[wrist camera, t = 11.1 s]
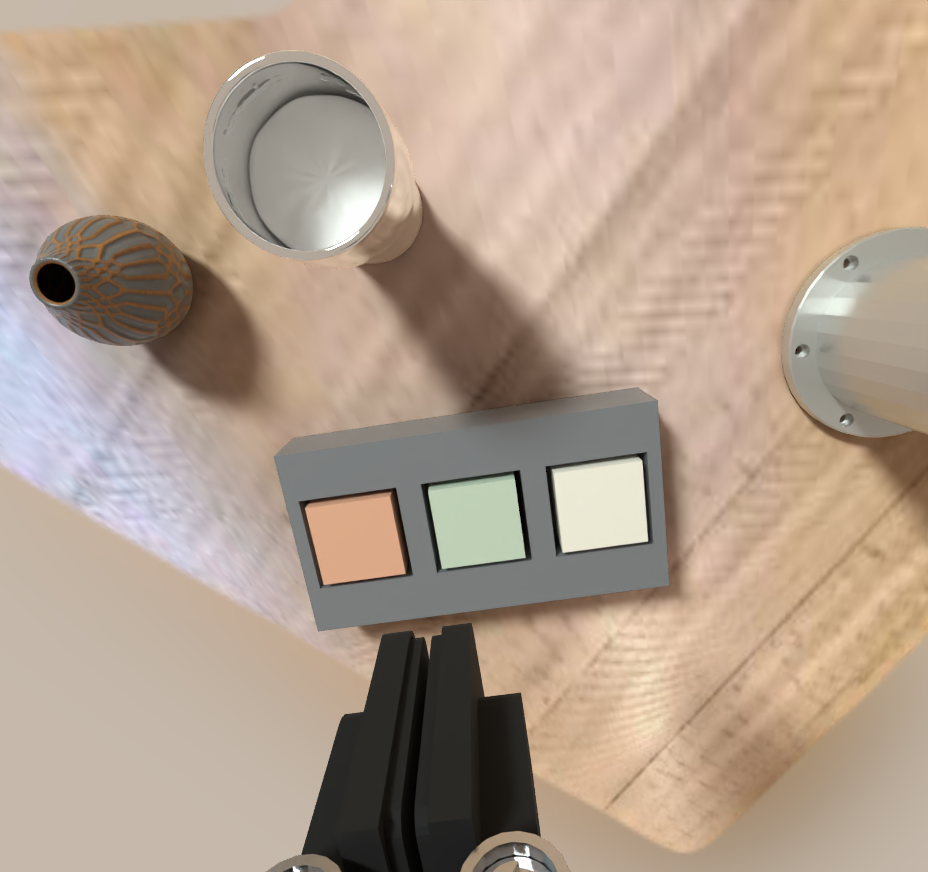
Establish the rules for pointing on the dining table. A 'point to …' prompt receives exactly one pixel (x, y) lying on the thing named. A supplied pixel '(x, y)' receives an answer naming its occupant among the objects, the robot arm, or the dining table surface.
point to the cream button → (598, 502)
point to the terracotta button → (358, 536)
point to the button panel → (467, 455)
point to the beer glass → (310, 163)
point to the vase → (113, 280)
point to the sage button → (477, 519)
